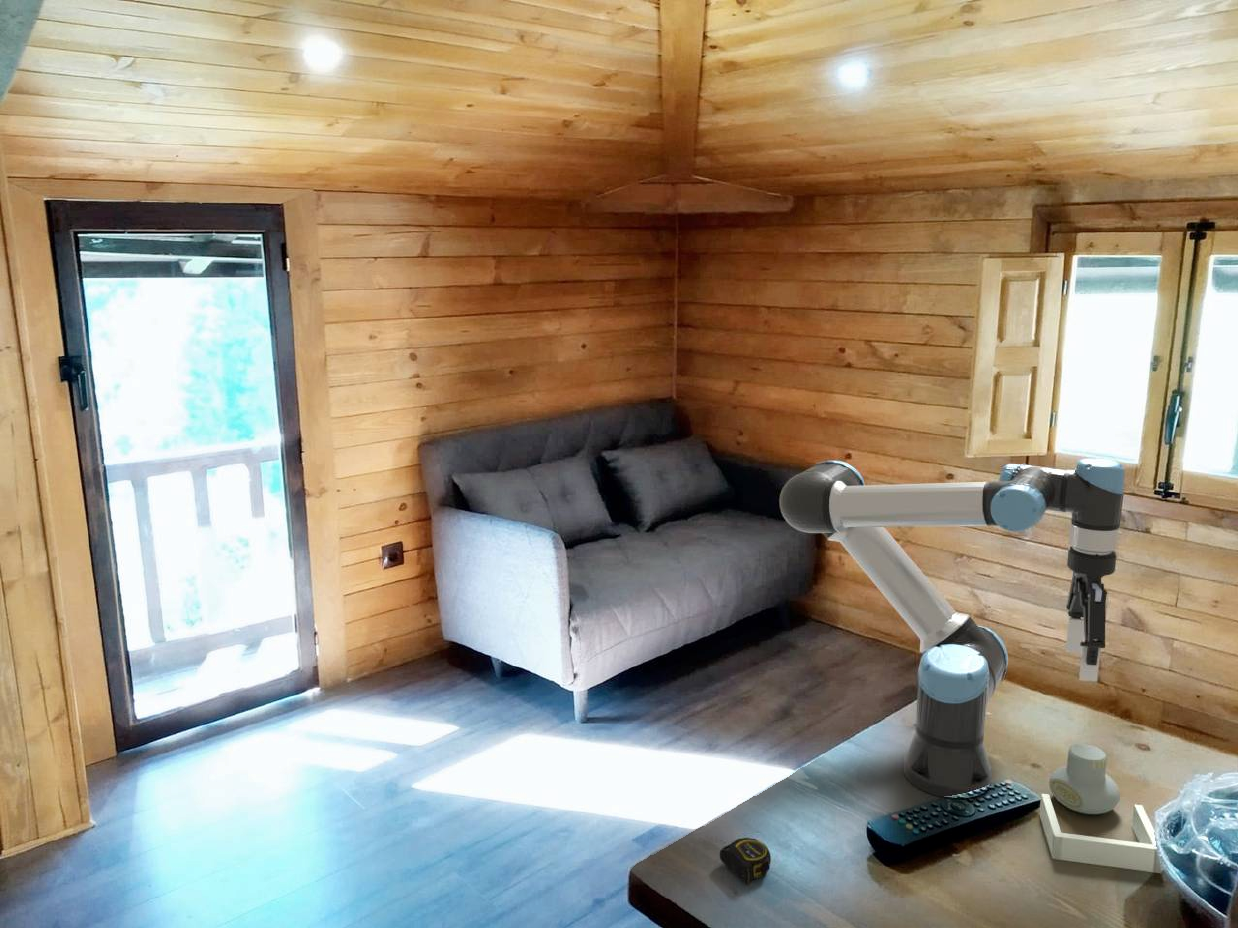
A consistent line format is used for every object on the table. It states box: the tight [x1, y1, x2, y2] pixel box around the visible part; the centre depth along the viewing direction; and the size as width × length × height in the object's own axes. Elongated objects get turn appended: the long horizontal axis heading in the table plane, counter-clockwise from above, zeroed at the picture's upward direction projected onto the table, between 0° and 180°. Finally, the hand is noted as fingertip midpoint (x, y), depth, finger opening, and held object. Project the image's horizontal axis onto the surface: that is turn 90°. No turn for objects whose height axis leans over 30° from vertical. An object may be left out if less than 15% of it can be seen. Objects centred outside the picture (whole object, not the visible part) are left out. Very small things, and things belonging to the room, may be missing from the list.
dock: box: [1039, 793, 1163, 874], centre depth 151 cm, size 15×12×4 cm
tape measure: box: [719, 837, 772, 884], centre depth 146 cm, size 7×7×4 cm
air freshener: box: [1048, 743, 1121, 815], centre depth 161 cm, size 11×8×10 cm
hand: (1080, 665), depth 167 cm, fingers open, 11 cm apart
